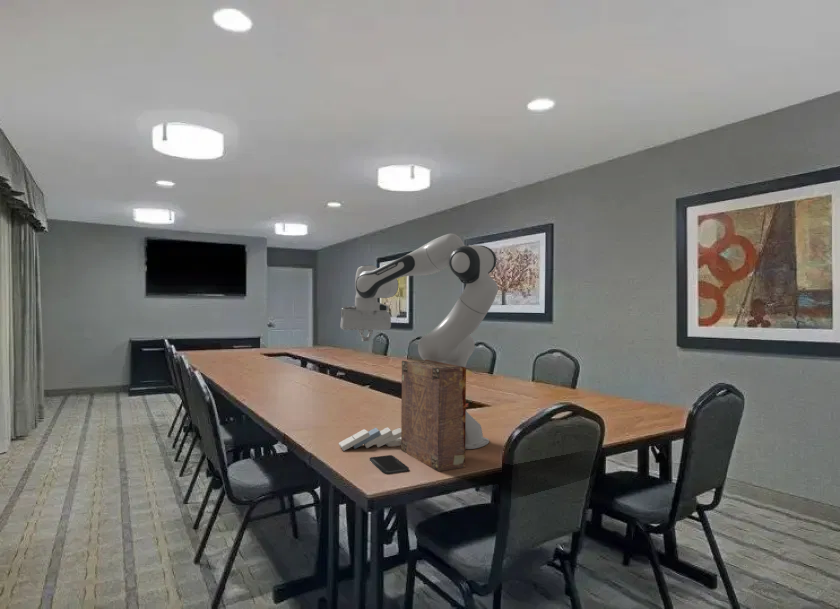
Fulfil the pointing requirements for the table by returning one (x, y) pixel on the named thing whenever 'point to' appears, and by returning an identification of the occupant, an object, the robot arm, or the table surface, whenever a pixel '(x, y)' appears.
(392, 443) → the domino
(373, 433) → the domino
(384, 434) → the domino
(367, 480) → the table surface
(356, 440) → the domino
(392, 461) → the phone
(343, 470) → the table surface
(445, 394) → the book
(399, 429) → the domino
